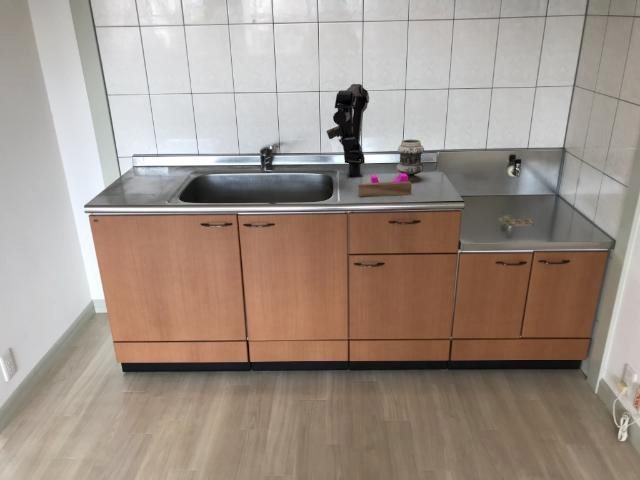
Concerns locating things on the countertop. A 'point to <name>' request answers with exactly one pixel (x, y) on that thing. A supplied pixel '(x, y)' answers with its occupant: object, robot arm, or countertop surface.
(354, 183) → the countertop surface
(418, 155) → the apothecary jar
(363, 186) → the walnut board
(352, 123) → the robot arm
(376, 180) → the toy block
